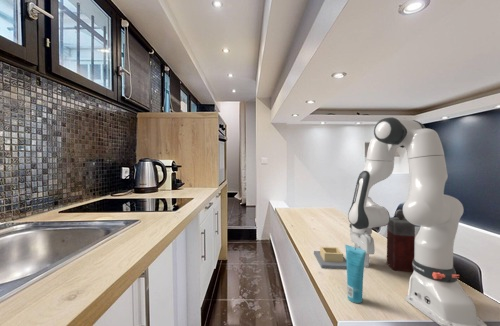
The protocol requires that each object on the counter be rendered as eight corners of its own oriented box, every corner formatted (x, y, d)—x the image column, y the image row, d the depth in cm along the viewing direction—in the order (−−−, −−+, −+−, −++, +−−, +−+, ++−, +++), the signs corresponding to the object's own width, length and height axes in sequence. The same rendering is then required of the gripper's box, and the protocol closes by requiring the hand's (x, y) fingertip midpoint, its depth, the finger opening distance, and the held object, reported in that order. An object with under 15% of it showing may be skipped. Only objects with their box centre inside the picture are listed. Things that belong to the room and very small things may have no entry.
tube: (367, 300, 84) (368, 248, 84) (363, 306, 80) (363, 251, 80) (346, 293, 89) (347, 243, 89) (341, 298, 85) (342, 246, 86)
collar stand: (351, 269, 109) (351, 257, 109) (321, 268, 110) (321, 256, 110) (339, 254, 127) (339, 244, 127) (313, 253, 128) (313, 243, 128)
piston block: (368, 267, 112) (369, 246, 112) (358, 266, 112) (358, 246, 112) (364, 262, 117) (364, 243, 117) (354, 262, 117) (354, 242, 117)
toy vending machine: (404, 262, 118) (404, 207, 118) (414, 272, 107) (415, 212, 107) (384, 260, 120) (385, 207, 120) (393, 270, 109) (394, 211, 109)
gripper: (378, 235, 104) (378, 265, 104) (360, 223, 125) (359, 249, 125) (364, 234, 105) (363, 265, 105) (348, 223, 125) (347, 248, 125)
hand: (361, 256), depth 115 cm, fingers closed on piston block, 5 cm apart
